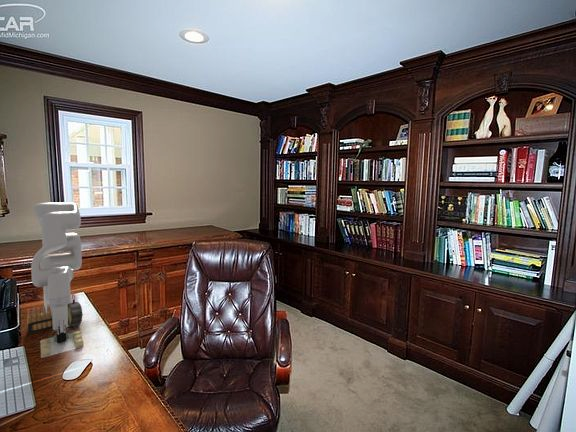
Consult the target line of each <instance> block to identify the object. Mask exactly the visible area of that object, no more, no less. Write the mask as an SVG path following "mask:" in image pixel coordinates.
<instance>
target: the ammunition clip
mask: <svg viewBox="0 0 576 432" xmlns="http://www.w3.org/2000/svg"><path fill="white" fill-rule="evenodd" d="M41 313H42V315H41ZM26 314H27V316H26V322H27V323H26V325H27V328H26V329H27V330H26V331H27V335H31V334H36V333H39V332H44V331H47V330H53V326H52V317H51V310H50V306H49V304H48V306H47V317H46V310H45V306H44V304H43V305H42V310H41V307H40V306H39V305H38V306H37V311H36V308H35V306H33V308H32V312H31V309H30V307H28V308H27V312H26Z"/></svg>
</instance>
